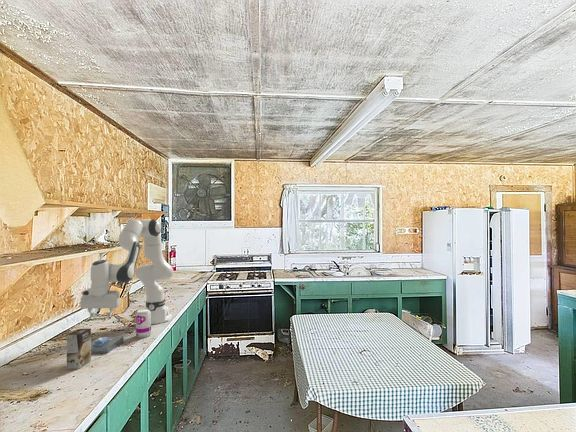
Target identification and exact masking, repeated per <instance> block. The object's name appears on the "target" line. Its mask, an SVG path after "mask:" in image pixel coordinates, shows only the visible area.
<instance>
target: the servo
mask: <svg viewBox="0 0 576 432" xmlns="http://www.w3.org/2000/svg"><path fill="white" fill-rule="evenodd" d="M100 337H101V338H99V337H98V338H99V339H98V340H96V341H95V344H94V345H93V346H103V345H104V344H106V343H107V342H108V341H109V340H110V339H108V337H109V336H100Z"/></svg>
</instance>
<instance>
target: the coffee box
mask: <svg viewBox="0 0 576 432" xmlns="http://www.w3.org/2000/svg"><path fill="white" fill-rule="evenodd" d="M91 342H92V329H91V328H78V329H76V330H74V331H71V332H69V333H67V334H66V369H68V370H71V369H72V370H73V369H75V370H76V369H77V370H79V369H81V368H83V367H84V366H86V365H87V364H89V363H90V362H92V353H91Z"/></svg>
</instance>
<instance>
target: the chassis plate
mask: <svg viewBox="0 0 576 432" xmlns="http://www.w3.org/2000/svg"><path fill="white" fill-rule="evenodd" d="M101 337H102V336H99V337H97V338H95V339H93V340H91V354H109V353H110V352H112V351H113V350H114V349H116V348H117V347H119V346H120V345H121V344H123V343H124V341H125V339H124V336H107V337H108V339H110V340H109V341H108V342H107V343H106V344H104V345H103V346H93V345H94V344H95V341H96V340H98V339H99V338H101Z"/></svg>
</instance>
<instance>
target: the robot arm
mask: <svg viewBox="0 0 576 432" xmlns="http://www.w3.org/2000/svg"><path fill="white" fill-rule="evenodd" d="M161 232H162V223H161V222H160V221H159V220H158V219H150V218H144V219H143V218H142V219H130V220H128V222H127V223H126V225H124V227H123V228H122V230H121V232H120V234H119V236H118V239H117V241H118V244H119V246H120V247H121V248H122V249H124V250H126V251H128V254H127V256H126V260H125V262H124V263H123V264H113V263H110V262H109V261H108V260H106V259H100V260H96V261H94V262H92V263H91V266H90V281H91V285H90V288H88V289H85V290H83V291H81V297H80V308H81V309H83V310H85V309H87V311H88V313H89V317H95V316H96V315H95V312H94V311H93V309H108V311H109V312H107V317H111V316H112V314H113V311H114V309H117V308H119V307H120V306H121V299H120V298H121V297H120V292H119V291H118V290H110V282H111V283H112V282H114V283H115V282H116V283H125V284H126V283H129V282H131V281H132V279H134V276H136V278H137V279H138V280H139V281H140V282H141V283H142V285H143V287H144V288H145V297H146V301H145V308H144V309H149V310H150V312H151V325H156V324H157V325H158V324H161V323H167V322H169V321H170V320H171V319H172V317H173V313H170V309H169V307H168V306H166V301H167V299H166V298H164V297H165V295H164V294H165V293H164V290H165V289H164V288H163V286H161V285H159V284H158V283H157V282H158V281H168V280H170V279H172V277H173V276H174V268H173V266H172V265H170V264H169V263H168V262H167V261H166V259H165V257H164V255H163V245H162V244H163V243H162V237H161ZM141 237H143V238H144V239H143V242H144V243H143V245H144V246H143V247H144V255H145V258H146V259H147V260H149V261H150V262H151V263H152V264H151V263H150V264H149V263H148V264H141V265H139V266H137V268H136V265H137V262H138V257H139V254H140V252H141V251H140V250H141V244H140V242H139V241H140V238H141Z"/></svg>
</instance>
